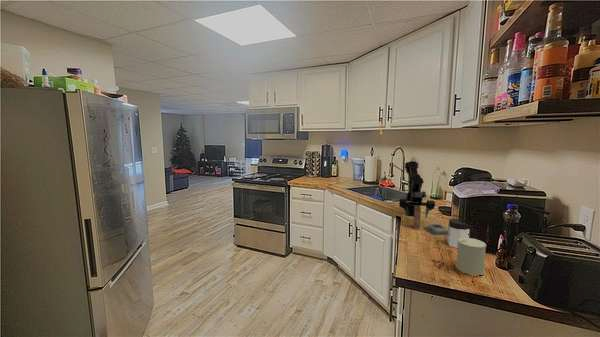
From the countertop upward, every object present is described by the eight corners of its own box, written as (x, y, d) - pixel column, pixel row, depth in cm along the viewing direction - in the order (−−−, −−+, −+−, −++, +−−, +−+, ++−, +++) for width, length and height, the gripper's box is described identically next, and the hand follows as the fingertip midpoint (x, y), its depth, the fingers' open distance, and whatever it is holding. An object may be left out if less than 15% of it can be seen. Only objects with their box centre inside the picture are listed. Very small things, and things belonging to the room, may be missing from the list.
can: (452, 263, 102) (454, 235, 101) (478, 266, 100) (481, 237, 98) (459, 274, 94) (461, 244, 92) (488, 278, 91) (490, 247, 89)
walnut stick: (413, 227, 144) (414, 206, 143) (419, 228, 143) (420, 206, 142) (414, 229, 141) (415, 207, 140) (419, 230, 140) (420, 207, 139)
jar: (471, 246, 118) (472, 221, 117) (465, 251, 113) (466, 225, 112) (450, 240, 125) (451, 217, 124) (444, 244, 120) (445, 221, 119)
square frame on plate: (423, 228, 143) (423, 223, 142) (440, 228, 143) (441, 223, 142) (432, 234, 133) (432, 229, 132) (451, 234, 133) (451, 229, 132)
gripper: (400, 185, 147) (400, 208, 138) (435, 187, 141) (438, 210, 132) (399, 195, 155) (399, 217, 146) (432, 197, 149) (434, 220, 140)
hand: (417, 216), depth 141 cm, fingers open, 9 cm apart
